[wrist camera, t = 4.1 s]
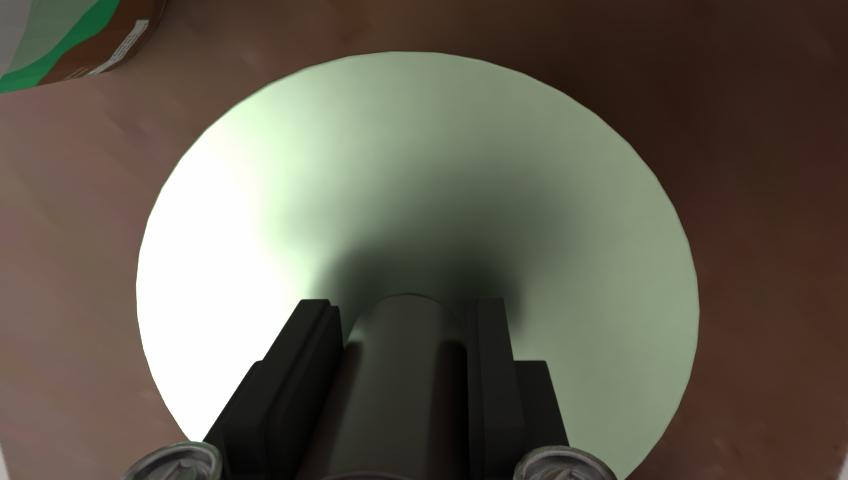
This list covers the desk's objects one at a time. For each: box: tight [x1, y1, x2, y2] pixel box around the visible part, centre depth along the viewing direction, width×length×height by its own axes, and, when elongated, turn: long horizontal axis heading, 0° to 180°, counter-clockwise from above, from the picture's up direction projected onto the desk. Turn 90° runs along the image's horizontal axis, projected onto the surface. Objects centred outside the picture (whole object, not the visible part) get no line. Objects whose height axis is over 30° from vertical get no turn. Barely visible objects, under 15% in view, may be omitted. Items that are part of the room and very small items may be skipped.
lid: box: [136, 51, 699, 480], centre depth 10 cm, size 12×12×6 cm
